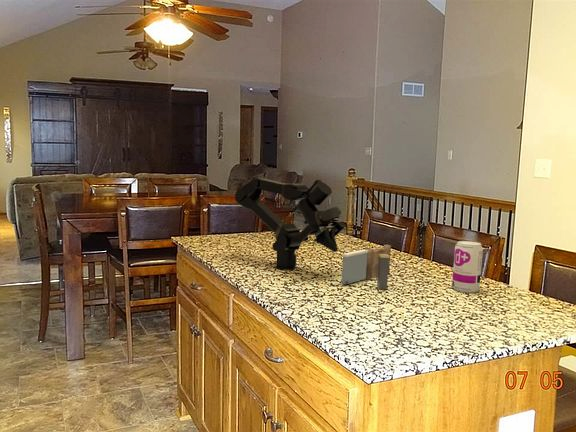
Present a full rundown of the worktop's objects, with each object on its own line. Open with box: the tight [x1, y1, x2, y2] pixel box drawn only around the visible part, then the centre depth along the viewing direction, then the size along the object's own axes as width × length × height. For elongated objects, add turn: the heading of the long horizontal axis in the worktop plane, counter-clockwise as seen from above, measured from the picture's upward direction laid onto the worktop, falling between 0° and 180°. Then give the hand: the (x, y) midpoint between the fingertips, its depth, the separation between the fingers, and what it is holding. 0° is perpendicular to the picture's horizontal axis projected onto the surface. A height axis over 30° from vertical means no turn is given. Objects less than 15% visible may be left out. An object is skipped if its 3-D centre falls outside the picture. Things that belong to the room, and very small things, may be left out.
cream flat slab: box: [340, 249, 368, 286], centre depth 172 cm, size 12×2×10 cm, turn 138°
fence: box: [363, 244, 392, 281], centre depth 182 cm, size 14×3×10 cm, turn 138°
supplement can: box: [451, 240, 484, 294], centre depth 168 cm, size 8×8×15 cm
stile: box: [376, 254, 391, 290], centre depth 166 cm, size 3×3×11 cm
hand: (336, 251), depth 175 cm, fingers closed
